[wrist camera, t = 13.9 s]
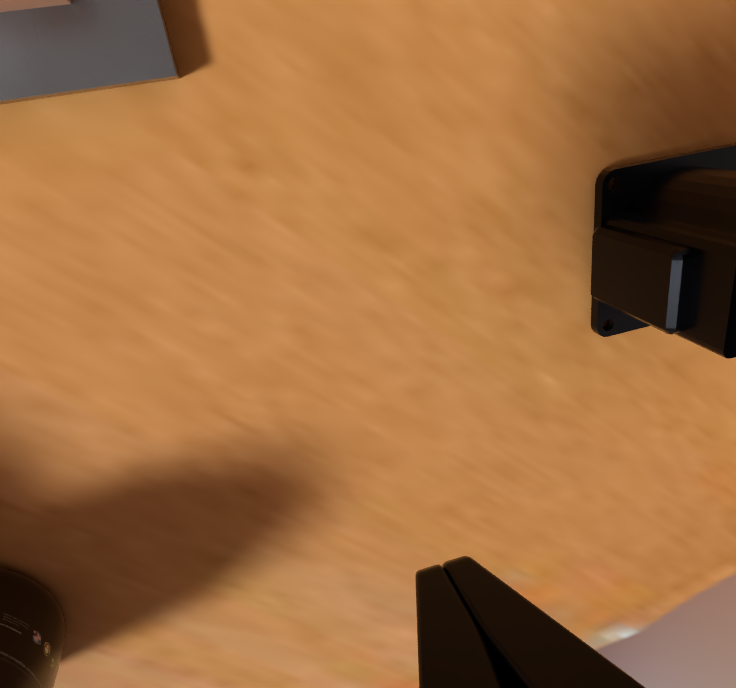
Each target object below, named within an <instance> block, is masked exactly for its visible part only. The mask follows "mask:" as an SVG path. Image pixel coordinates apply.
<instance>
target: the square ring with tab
mask: <svg viewBox="0 0 736 688" xmlns="http://www.w3.org/2000/svg"><path fill="white" fill-rule="evenodd" d="M67 4H71V2H70V0H0V12H7V11H15V10H24V9H33V8H41V7H50V6H58V5H67Z"/></svg>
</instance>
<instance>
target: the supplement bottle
mask: <svg viewBox="0 0 736 688" xmlns="http://www.w3.org/2000/svg"><path fill="white" fill-rule="evenodd" d="M65 636H66V628H65V620H64V617H63V614H62V612H61V609H60V607H59V605H58V604H57V602H56V601H55V599H54V598H53V597H52V596H51V595H50V593H48V592H47V591H46V590H45V589H44V588H43V587H42V586H40V585H39V584H38V583H36V582H35V581H33V580H31V579H29V578H27V577H25V576H23V575H21V574H18V573H16V572H13V571H10V570H6V569H2V568H0V688H53V686H54V683H55V679H56V675H57V672H58V668H59V663H60V660H61V656H62V652H63V648H64V643H65Z"/></svg>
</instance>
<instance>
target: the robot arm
mask: <svg viewBox="0 0 736 688" xmlns="http://www.w3.org/2000/svg"><path fill="white" fill-rule="evenodd" d="M611 178H613V179H614V183H613V186H612V187H611V188H610V189H609V181H610V180H611ZM591 295H592V307H591V328H592V330H593V331H594V332H595V333H597V334H599V335H601V336H603V337H608V336H612V335H616V334H620V333H624V332H628V331H632V330H635V329H639V328H643V327H647V326H652V327H655V328H657V329H659V330H661V331H663V332H665V333H667V334H676V335H678V336H680V337H682V338H684V339H687V340H689V341H691V342H693V343H695V344H697V345H699V346H701V347H704V348H706V349H708V350H710V351H712V352H714V353H716V354H718V355H721V356H723V357H725V358H734V357H736V143H734V144H729V145H723V146H718V147H713V148H708V149H703V150H698V151H693V152H688V153H683V154H678V155H673V156H668V157H663V158H658V159H652V160H647V161H642V162H637V163H632V164H627V165H622V166H617V167H612V168H608V169H605V170H603V171H602V172H601V173H600V174H599V176H598V178H597V179H596V184H595V213H594V233H593V241H592V273H591ZM606 320H608V321H607V324H606V325H605V326H604V327H603V323H604V322H605V321H606ZM416 605H417V635H418V664H419V688H645V687H644V686H642V685H641V684H640V683H638V682H637V681H636V680H634V679H633V678H632V677H630V676H629V675H628V674H626V673H625V672H623V671H622V670H621V669H620V668H618V667H617V666H615V665H614V664H613V663H611V662H610V661H609V660H607V659H606V658H605V657H603V656H602V655H601V654H599V653H598V652H597V651H595V650H594V649H593V648H591V647H590V646H589V645H587V644H586V643H585V642H583V641H582V640H581V639H579V638H578V637H577V636H575V635H574V634H573V633H571V632H570V631H569V630H567V629H566V628H565V627H563V626H562V625H561V624H559V623H558V622H556V621H555V620H554V619H552V618H551V617H550V616H548V615H547V614H546V613H544V612H543V611H542V610H540V609H539V608H538V607H536V606H535V605H534V604H532V603H531V602H530V601H528V600H527V599H526V598H524V597H523V596H522V595H520V594H519V593H518V592H516V591H515V590H514V589H512V588H511V587H510V586H508V585H507V584H505V583H504V582H503V581H501V580H500V579H499V578H497V577H496V576H495V575H493V574H492V573H491V572H489V571H488V570H487V569H485V568H484V567H483V566H481V565H480V564H479V563H477V562H476V561H475V560H473V559H472V558H470V557H468V556H462V557H459V558H456V559H453V560H450V561H447V562H445V563H444V564H443V566H441V565H434V566H431V567H428V568H425V569H422V570H419V571H417V573H416Z"/></svg>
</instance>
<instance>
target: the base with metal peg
mask: <svg viewBox="0 0 736 688" xmlns="http://www.w3.org/2000/svg"><path fill="white" fill-rule="evenodd" d="M70 2H71V4H67V5H58V6H50V7H41V8H33V9H24V10H15V11H7V12H0V104H6V103H13V102H20V101H27V100H34V99H40V98H47V97H54V96H61V95H68V94H75V93H82V92H89V91H96V90H103V89H110V88H117V87H124V86H131V85H138V84H144V83H151V82H158V81H165V80H172V79H179V75H178V71H177V67H176V64H175V60H174V56H173V52H172V48H171V44H170V41H169V37H168V33H167V29H166V25H165V21H164V18H163V14H162V10H161V6H160V2H159V0H70Z"/></svg>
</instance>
